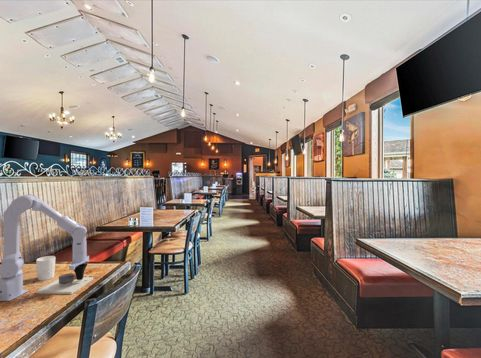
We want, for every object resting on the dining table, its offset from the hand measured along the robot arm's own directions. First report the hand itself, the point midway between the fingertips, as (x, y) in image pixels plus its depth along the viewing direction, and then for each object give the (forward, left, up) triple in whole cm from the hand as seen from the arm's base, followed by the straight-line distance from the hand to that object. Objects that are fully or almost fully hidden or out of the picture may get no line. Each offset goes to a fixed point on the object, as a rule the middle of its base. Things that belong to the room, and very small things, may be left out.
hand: (79, 279), depth 125 cm
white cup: (+7, +22, -3) cm, 23 cm away
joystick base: (-2, +5, -2) cm, 6 cm away
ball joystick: (0, +4, 0) cm, 4 cm away
